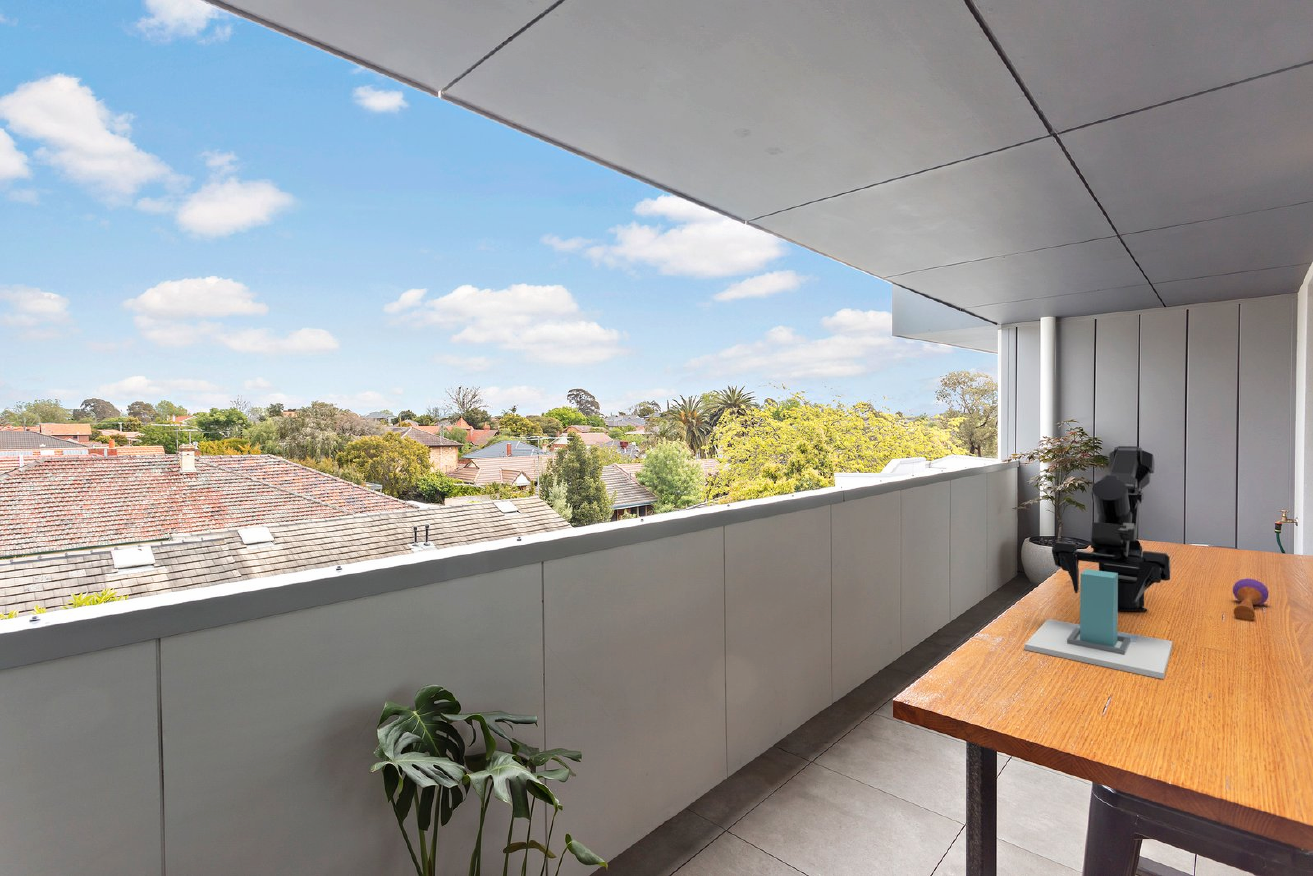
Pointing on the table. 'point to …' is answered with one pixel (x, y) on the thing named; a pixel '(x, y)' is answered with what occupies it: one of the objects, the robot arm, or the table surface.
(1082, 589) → the column
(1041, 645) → the board
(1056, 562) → the robot arm
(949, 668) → the table surface
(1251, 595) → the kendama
